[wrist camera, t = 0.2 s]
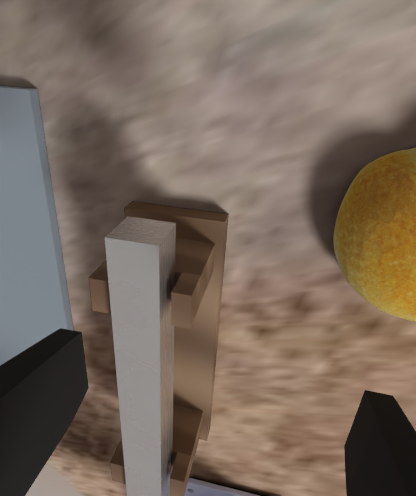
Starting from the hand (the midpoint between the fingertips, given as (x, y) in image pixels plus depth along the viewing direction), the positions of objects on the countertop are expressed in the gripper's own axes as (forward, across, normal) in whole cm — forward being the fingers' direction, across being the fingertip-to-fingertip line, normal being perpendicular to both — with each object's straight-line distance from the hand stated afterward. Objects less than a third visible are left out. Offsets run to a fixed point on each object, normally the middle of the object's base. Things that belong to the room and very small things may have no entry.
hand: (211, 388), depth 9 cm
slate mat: (+10, +15, +4) cm, 18 cm away
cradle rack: (+10, +4, +7) cm, 13 cm away
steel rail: (+6, +4, +7) cm, 10 cm away
